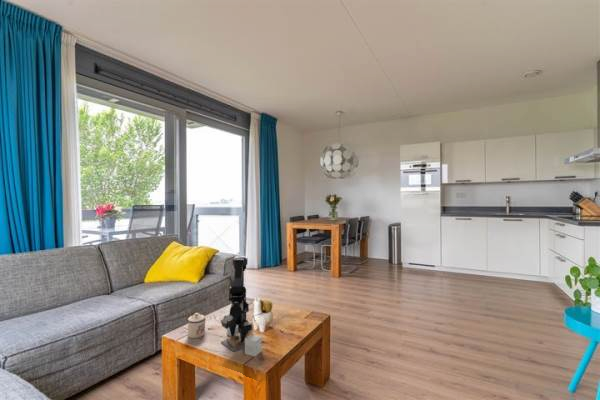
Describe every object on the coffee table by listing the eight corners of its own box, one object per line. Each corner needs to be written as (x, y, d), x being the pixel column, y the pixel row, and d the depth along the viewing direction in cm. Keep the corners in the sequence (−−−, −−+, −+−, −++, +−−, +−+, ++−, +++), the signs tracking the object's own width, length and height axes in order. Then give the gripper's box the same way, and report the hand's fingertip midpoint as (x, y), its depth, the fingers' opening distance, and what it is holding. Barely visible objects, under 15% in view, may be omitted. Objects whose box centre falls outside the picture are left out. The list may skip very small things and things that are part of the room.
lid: (239, 337, 155) (239, 331, 155) (247, 342, 150) (247, 336, 150) (226, 341, 150) (226, 336, 150) (234, 347, 145) (234, 341, 145)
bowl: (235, 329, 165) (235, 322, 165) (241, 333, 161) (241, 326, 161) (224, 333, 161) (224, 325, 161) (230, 337, 156) (230, 329, 156)
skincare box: (255, 357, 137) (255, 341, 137) (244, 354, 140) (244, 338, 140) (262, 350, 143) (262, 335, 143) (251, 348, 145) (251, 333, 145)
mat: (241, 335, 159) (241, 334, 159) (253, 343, 150) (253, 342, 150) (220, 342, 150) (220, 341, 150) (233, 352, 142) (233, 350, 142)
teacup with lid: (198, 339, 154) (198, 317, 153) (183, 337, 156) (183, 315, 156) (211, 329, 165) (211, 309, 165) (198, 327, 168) (198, 307, 168)
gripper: (214, 308, 151) (214, 337, 151) (233, 319, 138) (233, 352, 138) (233, 302, 159) (233, 331, 159) (252, 312, 145) (252, 343, 145)
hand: (237, 339), depth 150 cm, fingers open, 9 cm apart
